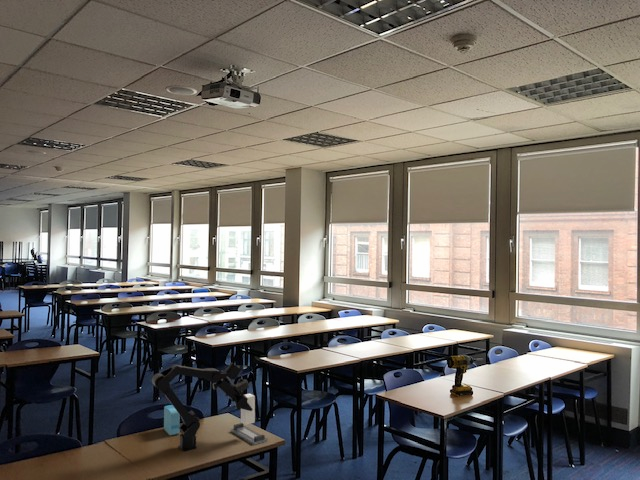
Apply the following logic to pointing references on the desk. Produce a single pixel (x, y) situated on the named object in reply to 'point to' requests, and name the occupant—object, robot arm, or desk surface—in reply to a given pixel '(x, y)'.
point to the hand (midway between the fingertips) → (250, 408)
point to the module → (247, 415)
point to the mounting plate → (248, 434)
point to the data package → (171, 420)
